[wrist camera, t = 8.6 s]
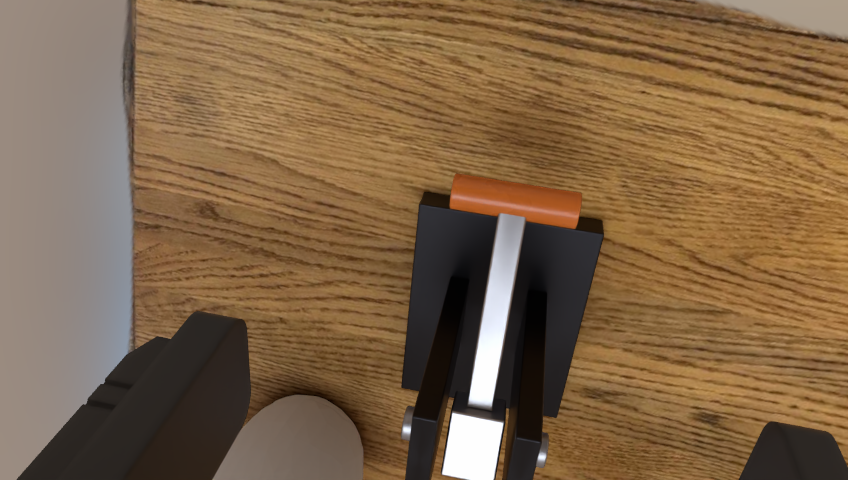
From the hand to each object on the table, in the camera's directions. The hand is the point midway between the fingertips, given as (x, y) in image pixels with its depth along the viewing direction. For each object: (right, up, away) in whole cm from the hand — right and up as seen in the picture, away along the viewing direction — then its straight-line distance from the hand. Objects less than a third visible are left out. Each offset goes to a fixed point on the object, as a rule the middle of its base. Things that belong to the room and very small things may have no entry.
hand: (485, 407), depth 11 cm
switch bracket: (+3, -1, +26) cm, 27 cm away
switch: (+2, -1, +18) cm, 18 cm away
